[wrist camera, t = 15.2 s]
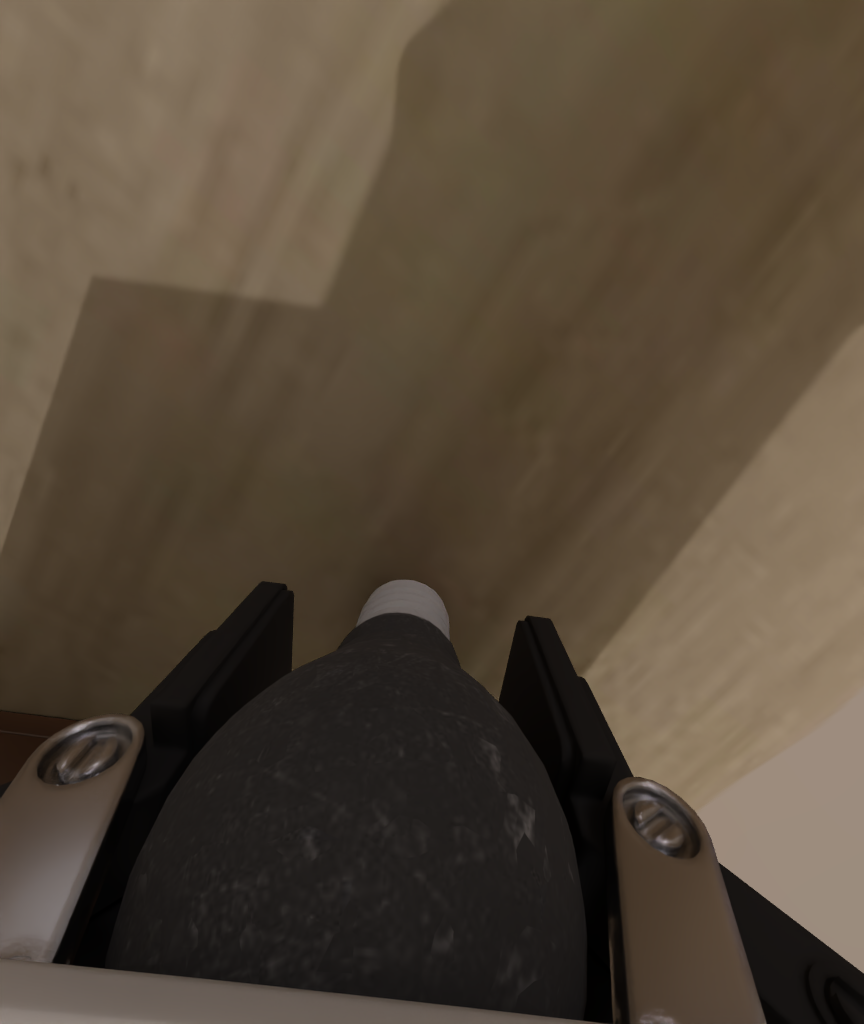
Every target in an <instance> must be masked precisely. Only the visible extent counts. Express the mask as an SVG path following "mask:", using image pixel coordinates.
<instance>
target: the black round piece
mask: <svg viewBox="0 0 864 1024" xmlns="http://www.w3.org/2000/svg"><path fill="white" fill-rule="evenodd" d="M105 969H113V970H122V971H132V972H142V973H152V974H162V975H171V976H181V977H191V978H201V979H210V980H220V981H230V982H239V983H248V984H257V985H267V986H276V987H285V988H294V989H303V990H313V991H322V992H331V993H340V994H350V995H359V996H368V997H377V998H386V999H395V1000H404V1001H413V1002H422V1003H431V1004H440V1005H449V1006H459V1007H467V1008H476V1009H484V1010H493V1011H502V1012H510V1013H519V1014H527V1015H536V1016H545V1017H553V1018H562V1019H571V1020H579V1021H583V1019H584V1014H585V1009H586V1003H587V927H586V919H585V910H584V902H583V896H582V890H581V884H580V878H579V872H578V865H577V859H576V853H575V848H574V845H573V840H572V835H571V833H570V830H569V826H568V822H567V819H566V817H565V815H564V812H563V810H562V807H561V805H560V802H559V800H558V798H557V795H556V793H555V790H554V788H553V786H552V783H551V781H550V778H549V776H548V773H547V771H546V769H545V766H544V764H543V763H542V761H541V760H540V758H539V757H538V755H537V754H536V752H535V751H534V749H533V747H532V746H531V744H530V743H529V741H528V740H527V738H526V737H525V735H524V734H523V732H522V731H521V729H520V728H519V726H518V725H517V723H516V722H515V720H514V719H513V717H512V716H511V715H510V714H509V713H508V712H507V711H506V709H505V708H504V707H503V706H502V705H501V704H500V703H499V702H498V701H497V700H496V699H495V698H494V697H493V696H492V695H491V694H490V693H489V692H488V691H487V690H486V689H485V688H484V687H483V686H482V685H481V684H480V683H479V682H477V681H476V680H475V679H474V678H472V677H471V676H470V675H469V674H468V673H466V672H465V671H464V670H463V669H461V667H460V663H459V660H458V658H457V655H456V653H455V650H454V648H453V645H452V643H451V642H450V635H449V617H448V613H447V611H446V608H445V606H444V603H443V601H442V599H441V598H440V597H439V596H438V594H437V593H436V592H435V591H434V590H433V589H431V588H430V587H428V586H427V585H425V584H422V583H420V582H417V581H414V580H395V581H390V582H388V583H386V584H384V585H382V586H380V587H379V588H377V589H376V590H375V591H374V592H373V593H372V594H371V595H370V597H369V599H368V601H367V603H366V604H365V605H364V607H363V608H362V610H361V613H360V616H359V619H358V622H357V625H356V627H355V628H354V629H353V630H352V631H351V632H350V633H349V634H348V635H347V637H346V638H345V639H344V640H343V642H342V643H341V645H340V646H339V648H338V649H337V650H336V651H335V652H332V653H330V654H328V655H326V656H323V657H321V658H319V659H317V660H314V661H312V662H310V663H308V664H305V665H303V666H301V667H299V668H297V669H295V670H294V671H292V672H290V673H288V674H286V675H285V676H283V677H282V678H281V679H279V680H278V681H276V682H275V683H274V684H272V685H271V686H269V687H268V688H266V689H265V690H264V691H263V692H261V693H260V694H259V695H257V696H256V697H255V698H253V699H252V700H251V701H249V702H248V703H247V704H246V705H244V706H243V707H242V708H241V709H240V710H239V711H238V712H236V713H235V714H234V715H233V716H232V717H231V718H230V719H229V720H228V721H227V722H226V723H225V724H224V725H223V726H222V727H221V728H220V729H219V730H218V731H217V732H216V733H215V734H214V735H213V736H212V738H211V739H210V740H209V741H208V742H207V743H206V745H205V746H204V747H203V748H202V749H201V750H200V752H199V753H198V754H197V755H196V756H195V757H194V759H193V760H192V761H191V763H190V764H189V766H188V767H187V769H186V770H185V772H184V773H183V775H182V776H181V778H180V779H179V781H178V782H177V784H176V785H175V786H174V788H173V789H172V791H171V792H170V794H169V795H168V797H167V799H166V801H165V803H164V805H163V807H162V809H161V811H160V813H159V815H158V817H157V819H156V821H155V823H154V825H153V827H152V829H151V831H150V833H149V835H148V837H147V839H146V841H145V843H144V845H143V847H142V849H141V851H140V853H139V855H138V857H137V859H136V862H135V864H134V867H133V869H132V871H131V873H130V875H129V879H128V882H127V886H126V889H125V892H124V896H123V899H122V903H121V906H120V909H119V913H118V916H117V920H116V923H115V926H114V930H113V933H112V937H111V940H110V944H109V948H108V951H107V955H106V961H105Z"/></svg>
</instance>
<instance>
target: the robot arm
mask: <svg viewBox="0 0 864 1024" xmlns="http://www.w3.org/2000/svg"><path fill="white" fill-rule="evenodd" d="M293 610H294V593H293V591H289V590H287V586H286V584H280V583H273V582H265V581H262V582H260V583H259V584H258V585H257V587H256V588H255V589H254V590H253V591H252V592H251V593H250V594H249V595H248V596H247V597H246V599H245V600H244V601H243V602H242V603H241V604H240V605H239V606H238V607H237V608H236V609H235V611H234V612H233V613H232V614H231V615H230V616H229V617H228V618H227V619H226V620H225V621H224V623H223V624H222V625H221V626H220V627H219V628H218V629H217V630H213V631H210V632H209V633H208V634H206V635H205V636H204V637H203V638H202V639H201V641H200V642H199V643H198V644H197V645H196V646H195V647H194V648H193V649H192V650H191V651H190V652H189V653H188V654H187V655H186V656H185V658H184V659H183V660H182V661H181V662H180V663H179V664H178V665H177V666H176V667H175V668H174V669H173V670H172V671H171V672H170V673H169V675H168V676H167V677H166V678H165V679H164V680H163V681H162V682H161V683H160V684H159V685H158V686H157V687H156V688H155V689H154V690H153V692H152V693H151V694H150V695H149V696H148V697H147V698H146V699H145V700H144V701H143V702H142V703H141V704H140V705H139V706H138V707H137V708H136V710H135V711H134V712H133V713H132V714H131V715H130V716H129V715H125V714H104V715H99V716H94V717H90V718H87V719H85V720H82V721H79V722H77V723H74V724H72V725H70V726H68V727H66V728H64V729H62V730H61V731H59V732H57V733H55V734H54V735H53V736H51V737H50V738H49V739H47V740H46V741H45V742H43V743H42V744H41V745H40V746H39V747H38V748H37V749H36V750H35V751H34V752H33V753H32V755H31V756H30V757H29V758H28V759H27V761H26V762H25V764H24V765H23V767H22V768H21V769H20V771H19V772H18V774H17V775H16V777H15V778H14V780H12V781H10V782H8V783H5V784H3V785H0V1024H864V973H862V972H861V971H860V970H858V969H857V968H856V967H854V966H853V965H852V964H850V963H849V962H848V961H846V960H845V959H844V958H843V957H841V956H840V955H839V954H837V953H836V952H835V951H833V950H832V949H831V948H830V947H828V946H827V945H826V944H824V943H823V942H822V941H820V940H819V939H818V938H817V937H815V936H814V935H813V934H811V933H810V932H809V931H807V930H806V929H805V928H804V927H802V926H801V925H800V924H798V923H797V922H796V921H794V920H793V919H792V918H790V917H789V916H788V915H787V914H785V913H784V912H783V911H781V910H780V909H779V908H777V907H776V906H775V905H773V904H772V903H771V902H770V901H768V900H767V899H766V898H764V897H763V896H762V895H760V894H759V893H758V892H756V891H755V890H754V889H753V888H751V887H750V886H748V885H747V884H746V883H744V882H743V881H742V880H741V879H739V878H738V877H737V876H736V875H734V874H733V873H732V872H730V871H729V870H728V869H727V868H725V867H724V866H723V865H721V864H720V863H719V862H718V860H717V857H716V853H715V850H714V847H713V843H712V840H711V838H710V835H709V833H708V831H707V829H706V827H705V825H704V823H703V822H702V821H701V819H700V818H699V816H698V815H697V814H696V812H695V811H694V810H693V809H692V808H691V807H690V806H689V805H688V804H687V803H686V802H685V801H684V800H683V799H682V798H681V797H679V796H678V795H677V794H675V793H674V792H673V791H671V790H670V789H668V788H667V787H665V786H663V785H661V784H659V783H657V782H655V781H653V780H649V779H645V778H641V777H633V775H632V773H631V770H630V768H629V766H628V764H627V762H626V760H625V758H624V756H623V754H622V752H621V750H620V748H619V746H618V744H617V742H616V740H615V738H614V736H613V734H612V732H611V730H610V728H609V726H608V724H607V722H606V720H605V718H604V716H603V714H602V712H601V710H600V708H599V705H598V703H597V701H596V699H595V697H594V695H593V693H592V691H591V689H590V687H589V685H588V683H587V682H586V680H585V679H584V678H582V677H578V676H577V674H576V672H575V670H574V668H573V665H572V663H571V661H570V659H569V657H568V655H567V653H566V651H565V648H564V646H563V644H562V642H561V640H560V638H559V636H558V634H557V631H556V629H555V627H554V625H553V623H552V621H551V620H550V619H549V618H541V617H534V616H527V617H526V618H525V620H524V621H520V620H519V621H518V622H517V625H516V629H515V633H514V637H513V642H512V646H511V650H510V655H509V659H508V663H507V668H506V672H505V676H504V681H503V685H502V689H501V694H500V698H499V703H500V704H501V705H502V706H503V707H504V708H505V709H506V711H507V712H508V713H509V714H510V715H511V716H512V717H513V719H514V720H515V722H516V723H517V725H518V726H519V728H520V729H521V731H522V732H523V734H524V735H525V737H526V738H527V740H528V741H529V743H530V744H531V746H532V747H533V749H534V751H535V752H536V754H537V755H538V757H539V758H540V760H541V761H542V763H543V764H544V766H545V769H546V771H547V773H548V776H549V778H550V781H551V783H552V786H553V788H554V790H555V793H556V795H557V798H558V800H559V802H560V805H561V807H562V810H563V812H564V815H565V817H566V819H567V822H568V826H569V830H570V833H571V835H572V840H573V845H574V848H575V853H576V859H577V865H578V872H579V878H580V884H581V890H582V896H583V902H584V910H585V919H586V927H587V1003H586V1009H585V1014H584V1019H583V1021H579V1020H571V1019H562V1018H553V1017H545V1016H536V1015H527V1014H519V1013H510V1012H502V1011H493V1010H484V1009H476V1008H467V1007H459V1006H449V1005H440V1004H431V1003H422V1002H413V1001H404V1000H395V999H386V998H377V997H368V996H359V995H350V994H340V993H331V992H322V991H313V990H303V989H294V988H285V987H276V986H267V985H257V984H248V983H239V982H230V981H220V980H210V979H201V978H191V977H181V976H171V975H162V974H152V973H142V972H132V971H122V970H113V969H105V961H106V955H107V951H108V948H109V944H110V940H111V937H112V933H113V930H114V926H115V923H116V920H117V916H118V913H119V909H120V906H121V903H122V899H123V896H124V892H125V889H126V886H127V882H128V879H129V875H130V873H131V871H132V869H133V867H134V864H135V862H136V859H137V857H138V855H139V853H140V851H141V849H142V847H143V845H144V843H145V841H146V839H147V837H148V835H149V833H150V831H151V829H152V827H153V825H154V823H155V821H156V819H157V817H158V815H159V813H160V811H161V809H162V807H163V805H164V803H165V801H166V799H167V797H168V795H169V794H170V792H171V791H172V789H173V788H174V786H175V785H176V784H177V782H178V781H179V779H180V778H181V776H182V775H183V773H184V772H185V770H186V769H187V767H188V766H189V764H190V763H191V761H192V760H193V759H194V757H195V756H196V755H197V754H198V753H199V752H200V750H201V749H202V748H203V747H204V746H205V745H206V743H207V742H208V741H209V740H210V739H211V738H212V736H213V735H214V734H215V733H216V732H217V731H218V730H219V729H220V728H221V727H222V726H223V725H224V724H225V723H226V722H227V721H228V720H229V719H230V718H231V717H232V716H233V715H234V714H235V713H236V712H238V711H239V710H240V709H241V708H242V707H243V706H244V705H246V704H247V703H248V702H249V701H251V700H252V699H253V698H255V697H256V696H257V695H259V694H260V693H261V692H263V691H264V690H265V689H266V688H268V687H269V686H271V685H272V684H274V683H275V682H276V681H278V680H279V679H281V678H282V677H283V676H285V675H286V674H288V673H290V672H291V671H292V640H293Z"/></svg>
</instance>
